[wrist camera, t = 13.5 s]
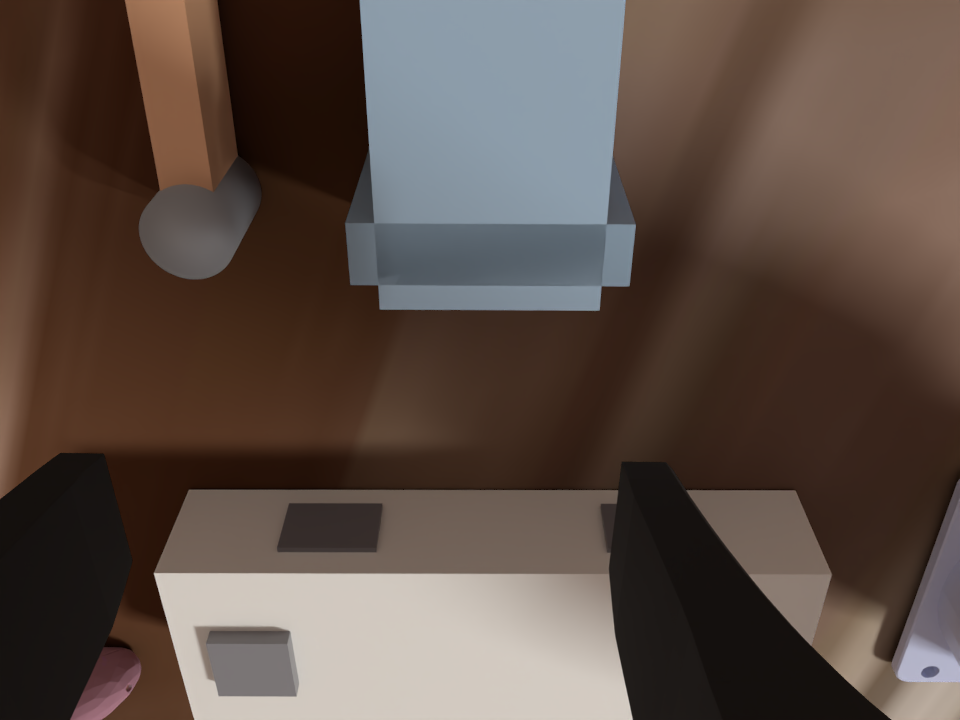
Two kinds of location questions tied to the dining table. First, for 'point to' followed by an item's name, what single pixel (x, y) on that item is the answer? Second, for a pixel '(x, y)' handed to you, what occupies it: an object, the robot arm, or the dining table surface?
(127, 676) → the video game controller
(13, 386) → the dining table surface
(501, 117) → the plug
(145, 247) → the wooden block bar
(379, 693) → the power strip
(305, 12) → the dining table surface
